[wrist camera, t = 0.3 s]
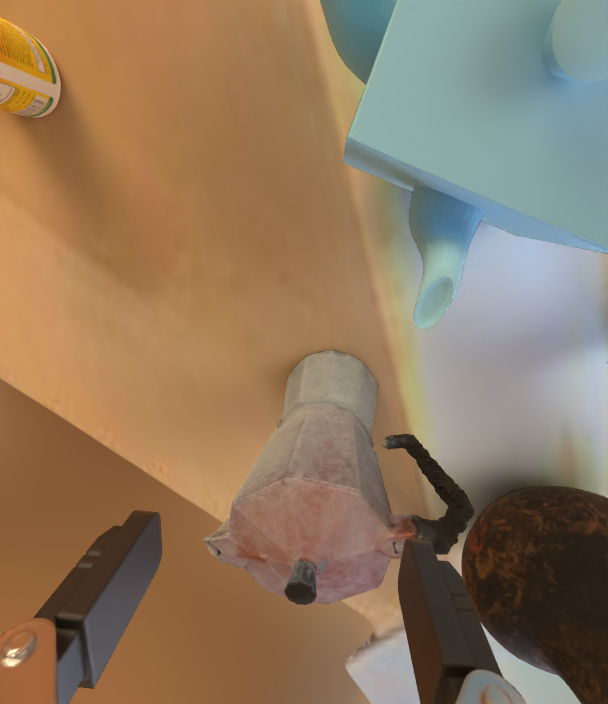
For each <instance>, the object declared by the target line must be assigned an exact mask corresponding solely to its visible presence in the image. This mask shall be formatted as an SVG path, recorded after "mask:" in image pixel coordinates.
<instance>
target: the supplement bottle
mask: <svg viewBox="0 0 608 704" xmlns="http://www.w3.org/2000/svg"><path fill="white" fill-rule="evenodd" d="M60 92H61V83H60V77H59V73H58V70H57V67H56V64H55V62H54V60H53V58H52V56H51V55H50V53H49V51H48V50H47V49H46V48H45V46H44V45H43V44H42V43H41V42H40V41H39V40H38V39H36V38H35V37H34V36H32V35H31V34H29V33H27V32H26V31H24V30H22V29H20V28H18V27H17V26H15V25H13V24H11V23H9V22H8V21H6V20H4V19H2V18H0V109H1V110H4V111H8V112H11V113H15V114H18V115H22V116H26V117H32V118H38V117H43V116H45V115H47V114H49V113H50V112H52V111H53V109H54V108H55V107H56V105H57V103H58V101H59V98H60Z"/></svg>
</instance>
